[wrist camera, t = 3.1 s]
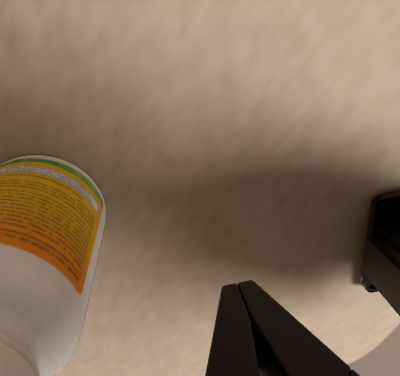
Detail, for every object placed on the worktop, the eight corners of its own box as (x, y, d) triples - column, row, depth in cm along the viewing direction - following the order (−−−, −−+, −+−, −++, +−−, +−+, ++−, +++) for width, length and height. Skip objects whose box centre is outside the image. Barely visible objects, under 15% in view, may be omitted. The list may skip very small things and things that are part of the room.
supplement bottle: (-32, 150, 14) (-327, 367, 5) (103, 152, 15) (37, 342, 6) (-5, 256, 16) (-178, 523, 8) (110, 252, 17) (70, 492, 8)
